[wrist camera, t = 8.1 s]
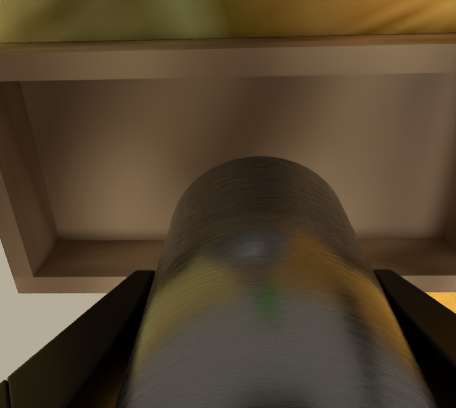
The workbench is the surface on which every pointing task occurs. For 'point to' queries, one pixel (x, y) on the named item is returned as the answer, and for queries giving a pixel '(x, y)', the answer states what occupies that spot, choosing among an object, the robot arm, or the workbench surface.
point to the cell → (267, 303)
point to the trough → (221, 145)
